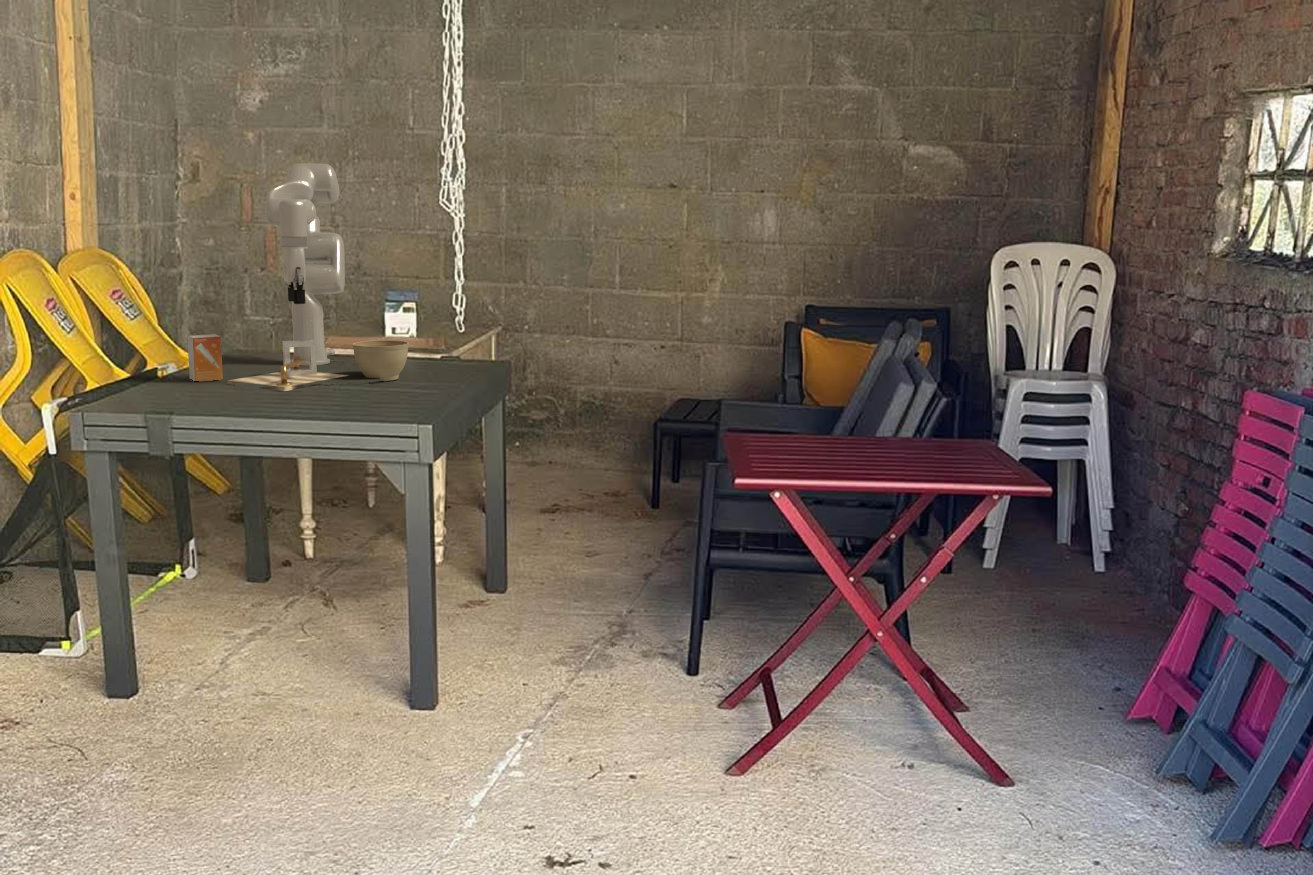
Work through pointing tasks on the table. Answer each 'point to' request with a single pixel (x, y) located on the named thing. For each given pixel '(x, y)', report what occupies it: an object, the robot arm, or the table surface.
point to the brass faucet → (296, 362)
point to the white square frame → (311, 357)
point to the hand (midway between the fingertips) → (296, 302)
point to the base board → (296, 380)
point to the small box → (205, 357)
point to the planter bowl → (381, 358)
